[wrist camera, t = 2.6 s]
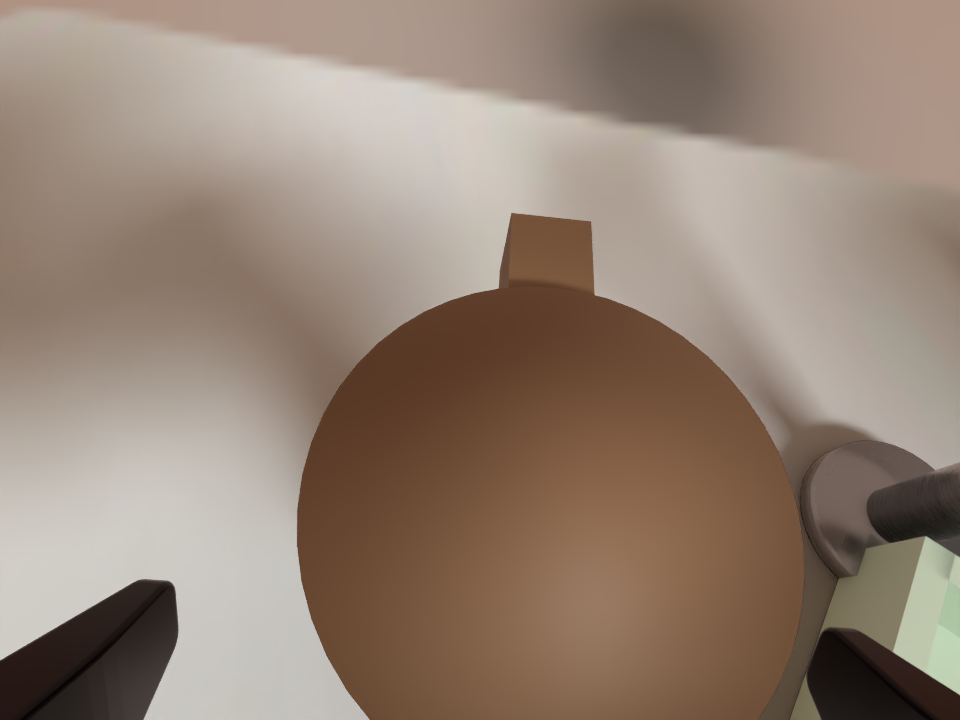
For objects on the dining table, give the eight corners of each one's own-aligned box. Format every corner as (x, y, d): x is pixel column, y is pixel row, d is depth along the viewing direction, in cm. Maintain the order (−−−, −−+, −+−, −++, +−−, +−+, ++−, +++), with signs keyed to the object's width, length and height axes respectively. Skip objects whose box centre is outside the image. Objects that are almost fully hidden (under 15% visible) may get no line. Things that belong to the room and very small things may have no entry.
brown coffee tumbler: (546, 693, 15) (864, 828, 4) (374, 683, 14) (234, 797, 4) (547, 480, 17) (739, 225, 7) (401, 468, 17) (363, 184, 7)
